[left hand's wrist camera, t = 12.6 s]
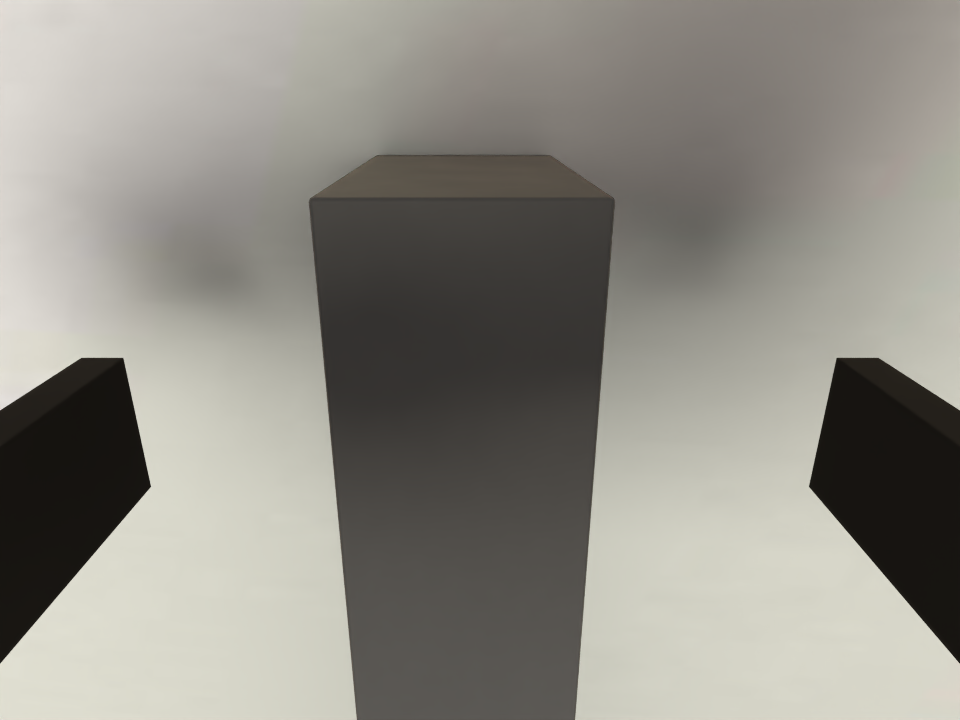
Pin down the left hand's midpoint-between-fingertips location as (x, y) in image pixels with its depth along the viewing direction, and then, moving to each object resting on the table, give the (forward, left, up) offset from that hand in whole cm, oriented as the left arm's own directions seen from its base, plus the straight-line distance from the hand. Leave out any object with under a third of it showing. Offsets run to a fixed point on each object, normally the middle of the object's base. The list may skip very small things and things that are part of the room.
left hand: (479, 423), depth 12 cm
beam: (+18, +30, -8) cm, 36 cm away
